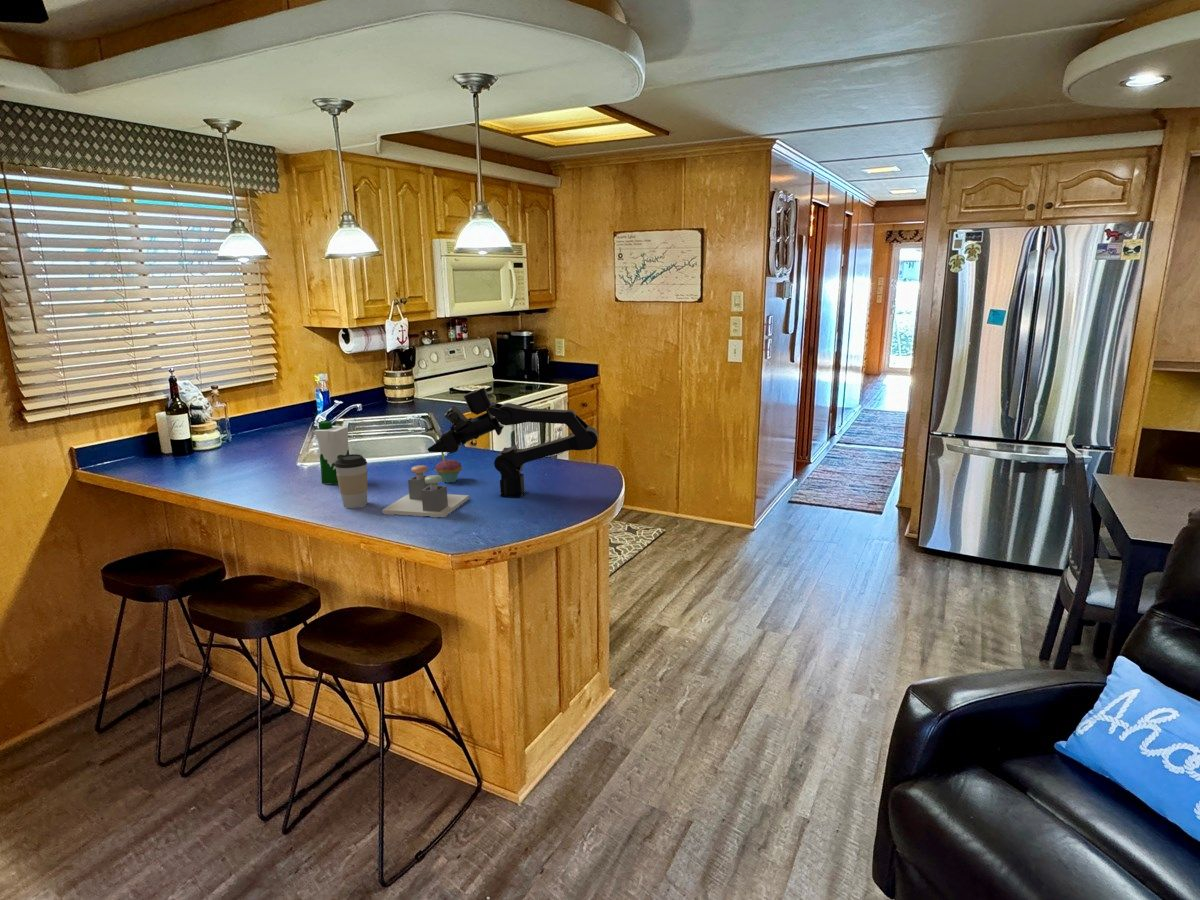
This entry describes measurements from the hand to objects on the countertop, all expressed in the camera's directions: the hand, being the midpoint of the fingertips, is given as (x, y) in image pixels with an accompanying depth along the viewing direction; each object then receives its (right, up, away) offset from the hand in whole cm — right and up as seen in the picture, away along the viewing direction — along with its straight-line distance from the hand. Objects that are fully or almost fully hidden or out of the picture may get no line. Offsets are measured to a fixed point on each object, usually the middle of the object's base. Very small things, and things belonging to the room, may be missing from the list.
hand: (432, 446), depth 209 cm
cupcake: (+1, -11, +18) cm, 22 cm away
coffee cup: (-22, -17, -4) cm, 28 cm away
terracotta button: (-3, -13, -2) cm, 13 cm away
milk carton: (-36, -12, +20) cm, 43 cm away
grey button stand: (0, -18, -7) cm, 19 cm away
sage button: (+4, -15, -13) cm, 21 cm away
